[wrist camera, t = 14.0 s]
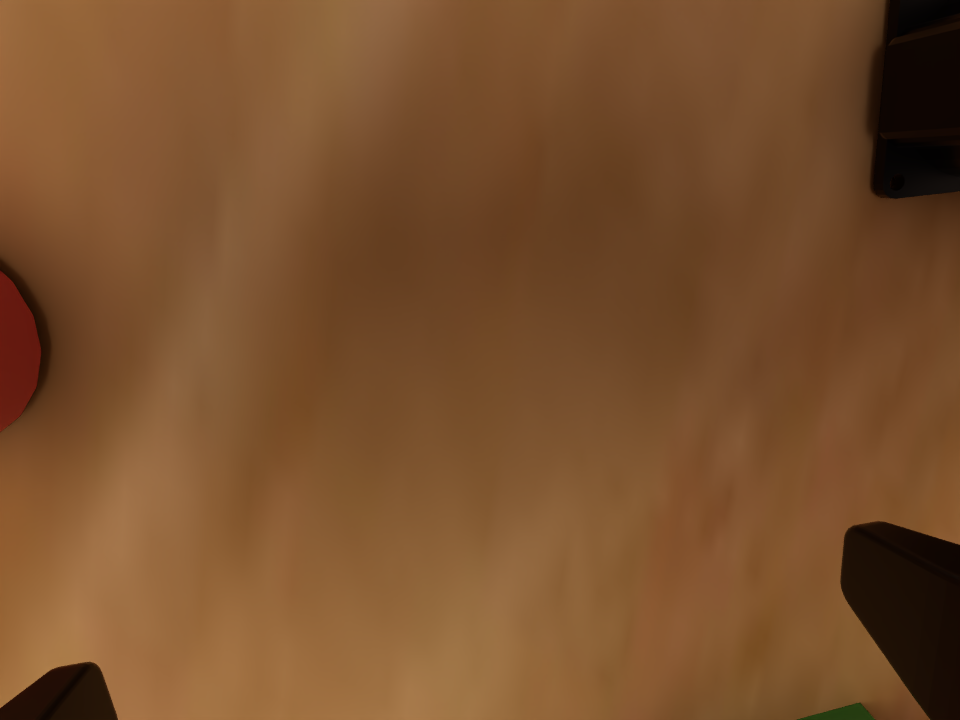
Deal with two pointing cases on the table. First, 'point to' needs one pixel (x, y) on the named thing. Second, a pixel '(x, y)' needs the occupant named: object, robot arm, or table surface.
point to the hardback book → (843, 714)
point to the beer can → (16, 353)
